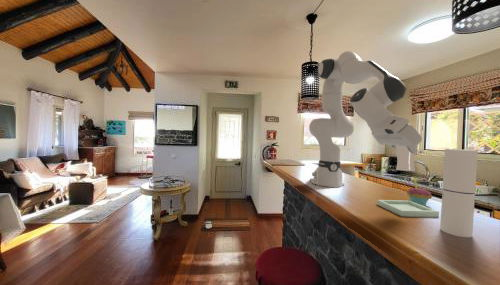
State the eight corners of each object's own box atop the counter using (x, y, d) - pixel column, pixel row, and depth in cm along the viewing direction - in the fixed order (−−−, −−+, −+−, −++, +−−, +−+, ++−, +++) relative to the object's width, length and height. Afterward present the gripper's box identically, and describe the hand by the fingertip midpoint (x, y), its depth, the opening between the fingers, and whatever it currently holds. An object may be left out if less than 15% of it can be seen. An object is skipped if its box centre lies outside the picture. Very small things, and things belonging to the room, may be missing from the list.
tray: (377, 204, 94) (377, 199, 94) (408, 205, 95) (409, 200, 95) (401, 216, 80) (402, 210, 80) (438, 217, 81) (438, 211, 81)
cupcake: (412, 206, 94) (414, 177, 93) (402, 200, 102) (404, 174, 102) (435, 208, 92) (437, 179, 92) (423, 202, 100) (425, 175, 100)
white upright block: (409, 171, 89) (409, 133, 90) (421, 171, 82) (421, 130, 83) (391, 169, 89) (391, 132, 91) (401, 169, 82) (401, 129, 84)
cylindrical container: (451, 236, 64) (456, 149, 64) (434, 226, 71) (439, 148, 71) (479, 238, 63) (485, 150, 63) (459, 228, 70) (464, 149, 70)
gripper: (363, 131, 96) (383, 154, 97) (396, 130, 76) (422, 159, 76) (373, 121, 96) (394, 144, 97) (410, 117, 76) (435, 147, 76)
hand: (407, 151), depth 86 cm, fingers closed on white upright block, 6 cm apart
